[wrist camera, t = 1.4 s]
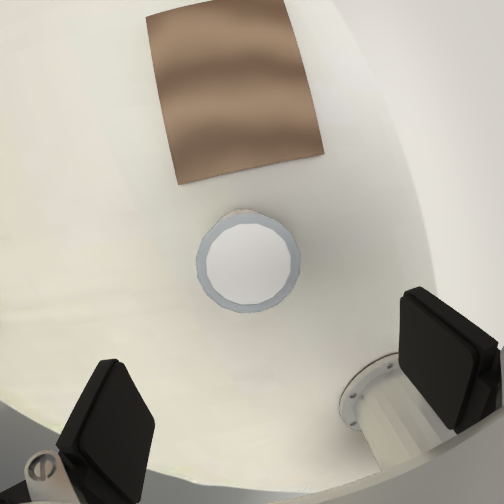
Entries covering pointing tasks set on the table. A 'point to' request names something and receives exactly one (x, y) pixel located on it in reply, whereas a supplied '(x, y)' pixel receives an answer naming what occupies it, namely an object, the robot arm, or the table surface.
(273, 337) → the table surface
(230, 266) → the white short cylinder
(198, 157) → the walnut board
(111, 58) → the table surface
